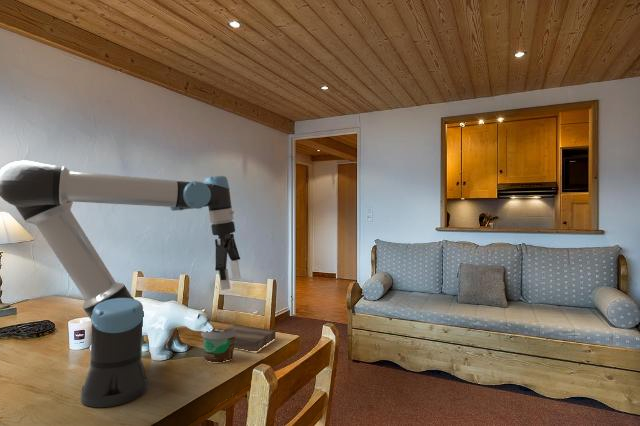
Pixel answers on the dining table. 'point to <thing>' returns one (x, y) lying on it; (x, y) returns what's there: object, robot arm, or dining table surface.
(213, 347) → the food container
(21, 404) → the dining table surface
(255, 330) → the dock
